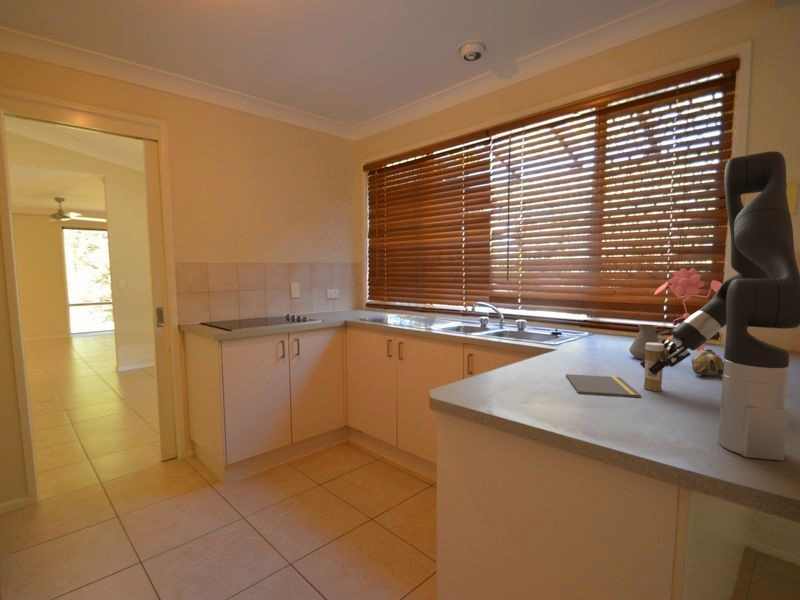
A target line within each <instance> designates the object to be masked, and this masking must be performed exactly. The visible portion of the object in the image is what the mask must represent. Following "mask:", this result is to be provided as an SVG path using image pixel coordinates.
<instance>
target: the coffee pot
mask: <svg viewBox="0 0 800 600" xmlns="http://www.w3.org/2000/svg"><path fill="white" fill-rule="evenodd" d="M637 327H639V332H638V333H637V335H636V336H635V338H634V340H633V341H632V344H631V346H630V347H629V349H628V350H629V353H630V354H631V355H632V356H633V357H634V359H637V360H641V361H643V360H644V359H645V358H646V349H645V345H646V343H649V342H653V343H658V342H659V341H660V339H659V338H658V336H661V335H664V334H668V333H669V334H670V333H671V331H672V330H673V328H672V329H670V330H665V331H660V332H656V330H657V328H658V327H659V326H658V325H653V324H638V325H637Z"/></svg>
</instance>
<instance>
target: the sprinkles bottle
mask: <svg viewBox="0 0 800 600" xmlns="http://www.w3.org/2000/svg"><path fill="white" fill-rule="evenodd" d="M645 349H646V358H645V368H644V374H643V375H644V376H643V378H644V383H643V388H644V389H646V390H649V391H651V392H652V391H653V392H658V391H662V389H663V387H662V383H663V382H662V381H663V372H664V371H663V370H664V368H663V369H662V370H661V371H659V372H658V373H657V374H655V375H654V374H652V373H651V372H650V371H649V370H648V369H649V367H651V366H652V365H653V364H655V363H656V362H657V361H660V359H661V357H662V356H663V351H664V344H661V343H653V342H649V343H646V345H645Z"/></svg>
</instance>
